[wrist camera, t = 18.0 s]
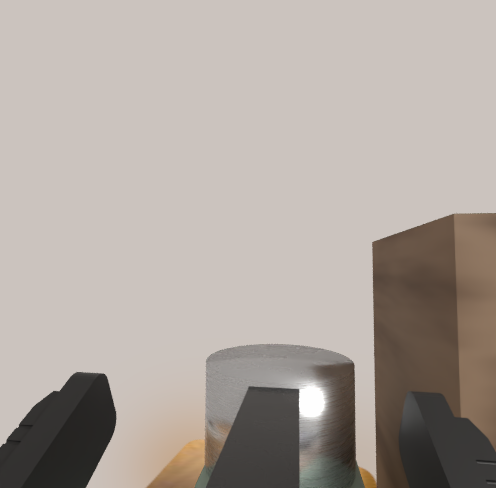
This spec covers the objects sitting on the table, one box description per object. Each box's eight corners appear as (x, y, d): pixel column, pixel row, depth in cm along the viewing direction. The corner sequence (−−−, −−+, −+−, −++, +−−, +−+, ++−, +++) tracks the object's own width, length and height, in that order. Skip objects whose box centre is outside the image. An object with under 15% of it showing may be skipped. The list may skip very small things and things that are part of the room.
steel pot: (345, 431, 25) (344, 346, 26) (546, 1142, 5) (525, 657, 5) (222, 423, 27) (223, 342, 27) (-41, 953, 6) (-20, 577, 6)
